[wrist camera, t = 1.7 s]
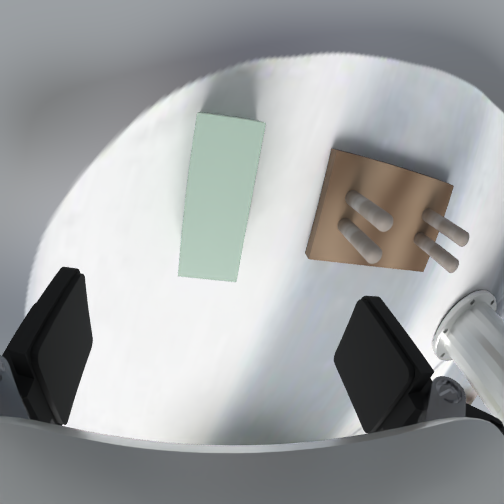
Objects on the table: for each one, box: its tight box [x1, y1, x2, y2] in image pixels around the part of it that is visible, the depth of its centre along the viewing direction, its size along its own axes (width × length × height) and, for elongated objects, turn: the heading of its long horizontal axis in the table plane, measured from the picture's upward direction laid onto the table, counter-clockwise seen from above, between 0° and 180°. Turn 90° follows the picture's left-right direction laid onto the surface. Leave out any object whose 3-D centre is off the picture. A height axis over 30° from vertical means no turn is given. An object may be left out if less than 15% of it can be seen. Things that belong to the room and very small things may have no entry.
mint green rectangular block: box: [178, 112, 266, 282], centre depth 24 cm, size 4×12×5 cm, turn 170°
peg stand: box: [305, 149, 469, 273], centre depth 26 cm, size 14×10×7 cm
